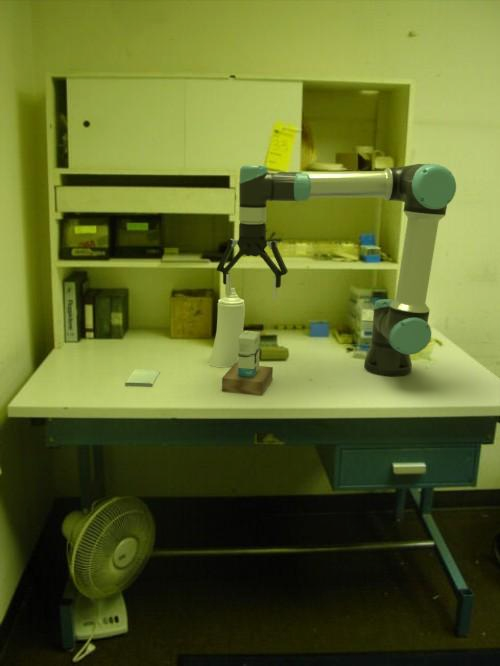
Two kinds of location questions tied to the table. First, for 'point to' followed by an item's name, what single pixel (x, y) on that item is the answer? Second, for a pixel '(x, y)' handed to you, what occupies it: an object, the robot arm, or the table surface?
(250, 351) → the ink box
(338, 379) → the table surface
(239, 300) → the spray can
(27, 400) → the table surface
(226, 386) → the wooden block
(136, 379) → the hard drive
